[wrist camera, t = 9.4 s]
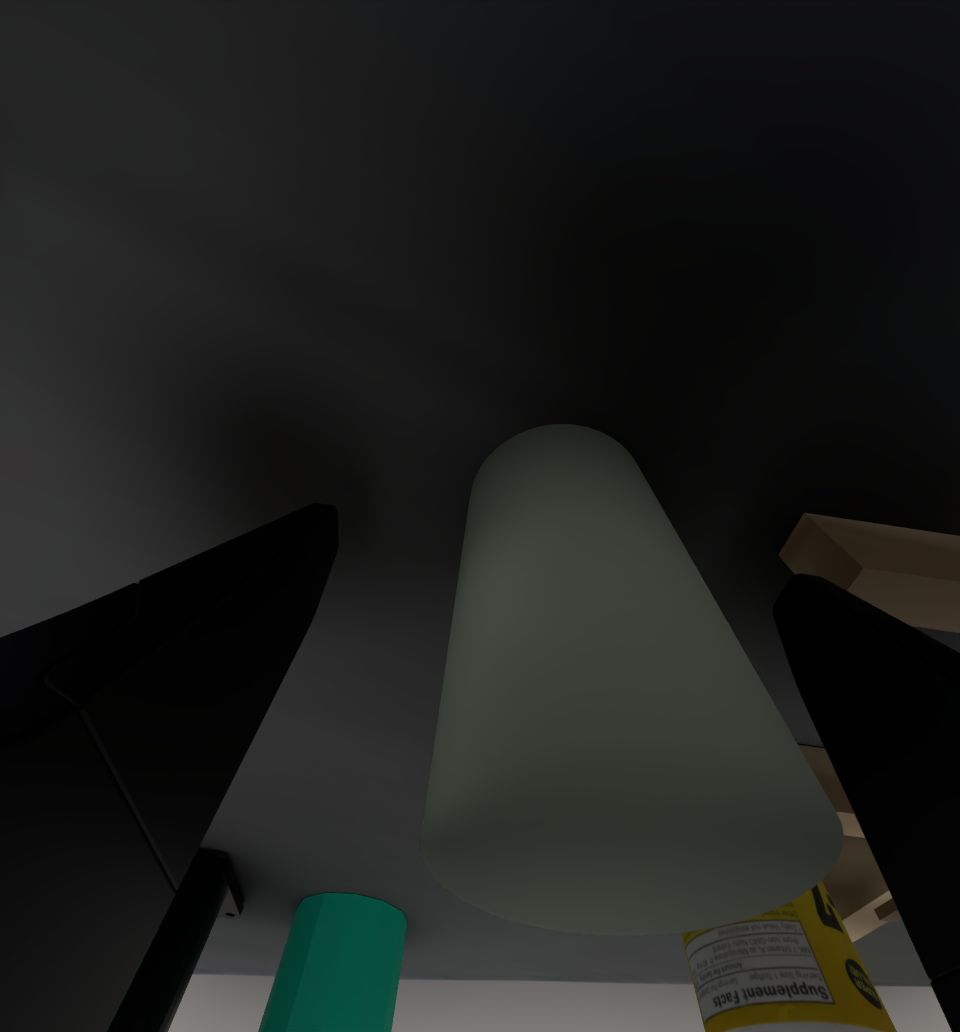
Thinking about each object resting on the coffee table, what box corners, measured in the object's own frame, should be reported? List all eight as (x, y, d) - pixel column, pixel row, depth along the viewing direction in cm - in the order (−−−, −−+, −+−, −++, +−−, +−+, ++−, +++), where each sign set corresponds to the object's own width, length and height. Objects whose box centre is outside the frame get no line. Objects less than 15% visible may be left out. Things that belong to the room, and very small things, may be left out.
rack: (817, 884, 20) (851, 956, 18) (592, 856, 19) (602, 926, 17) (1221, 575, 10) (1386, 652, 8) (803, 512, 10) (874, 578, 8)
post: (614, 584, 12) (728, 951, 6) (460, 562, 11) (409, 913, 5) (671, 439, 9) (951, 783, 3) (482, 410, 9) (438, 714, 3)
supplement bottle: (788, 832, 18) (981, 1240, 10) (665, 848, 19) (762, 1224, 12) (777, 767, 15) (1013, 1229, 8) (638, 789, 17) (739, 1210, 9)
